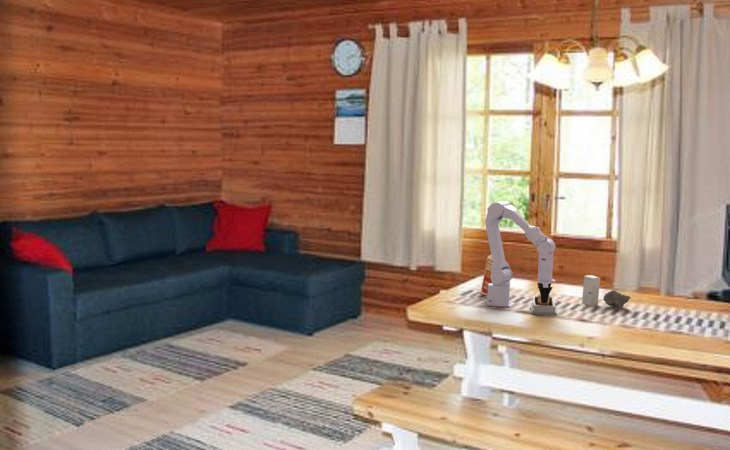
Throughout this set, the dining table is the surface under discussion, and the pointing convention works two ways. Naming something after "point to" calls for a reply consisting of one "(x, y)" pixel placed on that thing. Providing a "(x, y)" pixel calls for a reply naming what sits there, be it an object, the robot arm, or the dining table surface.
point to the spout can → (541, 302)
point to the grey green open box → (543, 307)
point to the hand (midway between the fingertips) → (543, 301)
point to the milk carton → (487, 276)
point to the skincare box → (591, 290)
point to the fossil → (615, 299)
